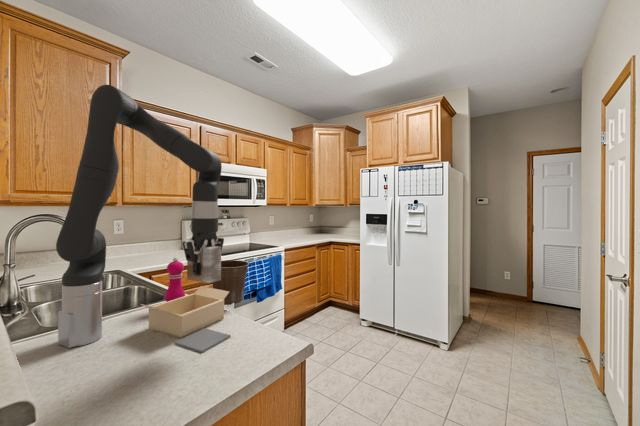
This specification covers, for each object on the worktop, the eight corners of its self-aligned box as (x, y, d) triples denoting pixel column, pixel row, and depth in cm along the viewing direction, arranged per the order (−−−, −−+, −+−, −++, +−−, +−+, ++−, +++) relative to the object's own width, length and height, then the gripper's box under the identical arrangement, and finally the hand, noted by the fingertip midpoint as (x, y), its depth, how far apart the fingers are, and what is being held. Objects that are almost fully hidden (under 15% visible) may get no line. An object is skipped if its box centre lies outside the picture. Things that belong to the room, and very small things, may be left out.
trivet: (202, 353, 79) (202, 350, 79) (174, 344, 84) (175, 342, 84) (230, 337, 89) (230, 335, 89) (204, 329, 94) (204, 328, 94)
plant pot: (252, 295, 132) (252, 260, 131) (243, 307, 116) (244, 267, 115) (216, 294, 131) (216, 259, 131) (202, 307, 115) (203, 267, 115)
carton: (172, 343, 84) (172, 312, 84) (139, 332, 91) (139, 303, 91) (230, 316, 106) (230, 291, 106) (199, 308, 113) (200, 285, 113)
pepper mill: (180, 303, 118) (180, 255, 118) (188, 307, 114) (189, 257, 113) (161, 308, 113) (161, 257, 112) (169, 312, 108) (170, 259, 108)
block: (209, 283, 82) (209, 248, 82) (187, 279, 86) (187, 246, 86) (220, 280, 86) (221, 246, 86) (199, 276, 90) (199, 244, 90)
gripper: (194, 217, 78) (193, 280, 78) (231, 216, 91) (230, 270, 91) (175, 216, 81) (174, 276, 81) (213, 215, 94) (213, 267, 94)
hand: (204, 273), depth 86 cm, fingers closed on block, 4 cm apart
